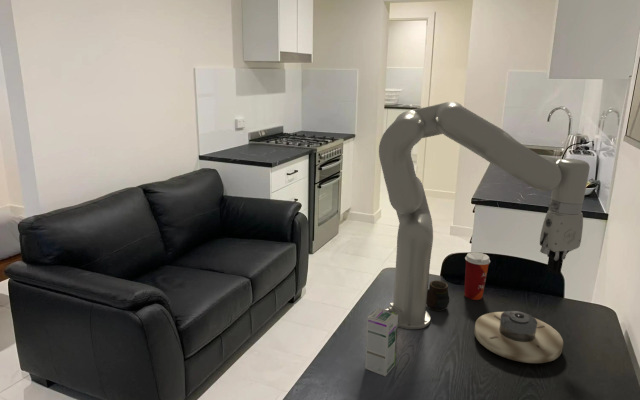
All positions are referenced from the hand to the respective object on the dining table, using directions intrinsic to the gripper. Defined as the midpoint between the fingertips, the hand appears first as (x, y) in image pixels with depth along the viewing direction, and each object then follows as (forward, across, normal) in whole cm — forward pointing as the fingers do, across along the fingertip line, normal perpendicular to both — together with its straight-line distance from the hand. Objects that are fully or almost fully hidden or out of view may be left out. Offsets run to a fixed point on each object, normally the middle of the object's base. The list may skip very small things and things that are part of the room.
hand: (553, 271), depth 129 cm
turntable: (+18, -10, -1) cm, 21 cm away
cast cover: (+16, -10, -1) cm, 19 cm away
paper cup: (+20, -3, +26) cm, 33 cm away
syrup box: (+20, -50, +2) cm, 54 cm away
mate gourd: (+20, -19, +23) cm, 36 cm away
